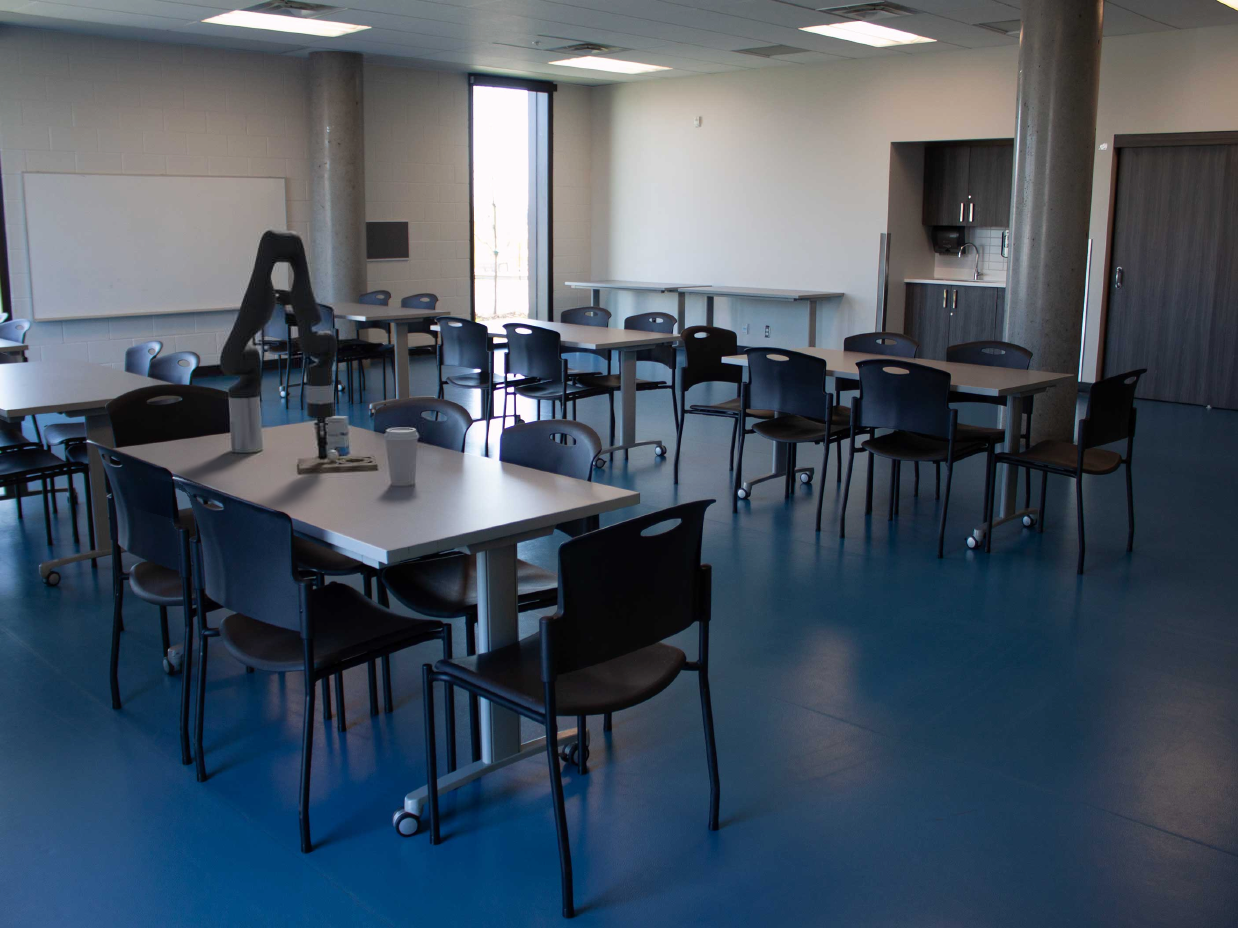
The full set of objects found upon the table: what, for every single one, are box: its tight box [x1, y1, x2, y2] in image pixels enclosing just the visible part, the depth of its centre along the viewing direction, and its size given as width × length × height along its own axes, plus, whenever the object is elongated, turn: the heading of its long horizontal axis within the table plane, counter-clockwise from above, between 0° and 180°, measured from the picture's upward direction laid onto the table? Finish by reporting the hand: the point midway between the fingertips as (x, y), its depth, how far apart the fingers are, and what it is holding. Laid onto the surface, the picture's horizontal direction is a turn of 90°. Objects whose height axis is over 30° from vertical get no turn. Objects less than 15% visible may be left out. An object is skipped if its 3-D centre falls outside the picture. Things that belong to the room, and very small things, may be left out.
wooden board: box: [297, 454, 379, 474], centre depth 320 cm, size 22×15×2 cm
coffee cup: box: [383, 426, 420, 487], centre depth 297 cm, size 10×10×15 cm
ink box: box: [325, 415, 350, 456], centre depth 338 cm, size 8×5×12 cm, turn 84°
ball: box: [326, 450, 340, 462], centre depth 319 cm, size 4×4×4 cm
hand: (322, 459), depth 318 cm, fingers closed
